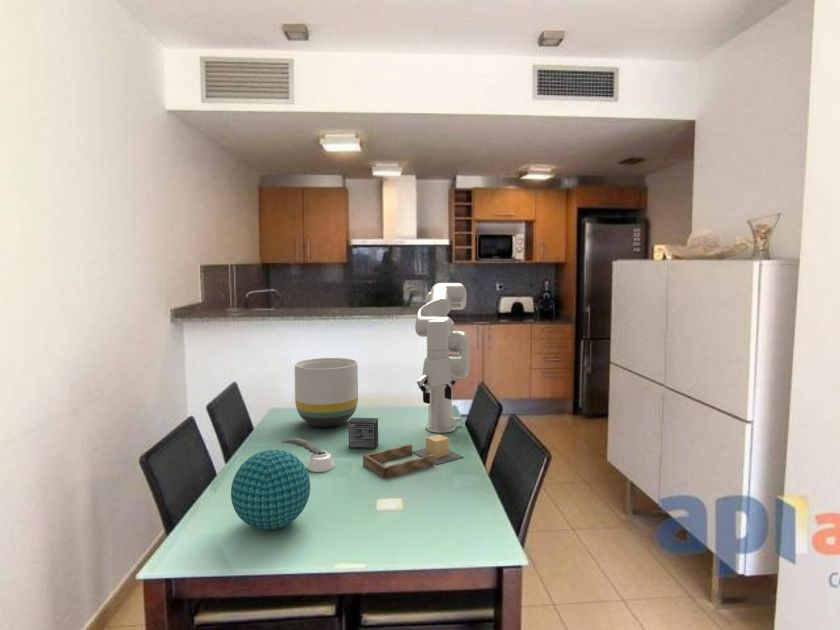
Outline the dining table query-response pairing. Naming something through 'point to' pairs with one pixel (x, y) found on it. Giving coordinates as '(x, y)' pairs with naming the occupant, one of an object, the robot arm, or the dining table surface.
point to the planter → (326, 390)
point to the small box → (363, 433)
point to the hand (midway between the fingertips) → (437, 400)
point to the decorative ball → (270, 489)
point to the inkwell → (314, 456)
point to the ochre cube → (437, 445)
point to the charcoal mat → (440, 459)
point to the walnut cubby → (389, 471)
